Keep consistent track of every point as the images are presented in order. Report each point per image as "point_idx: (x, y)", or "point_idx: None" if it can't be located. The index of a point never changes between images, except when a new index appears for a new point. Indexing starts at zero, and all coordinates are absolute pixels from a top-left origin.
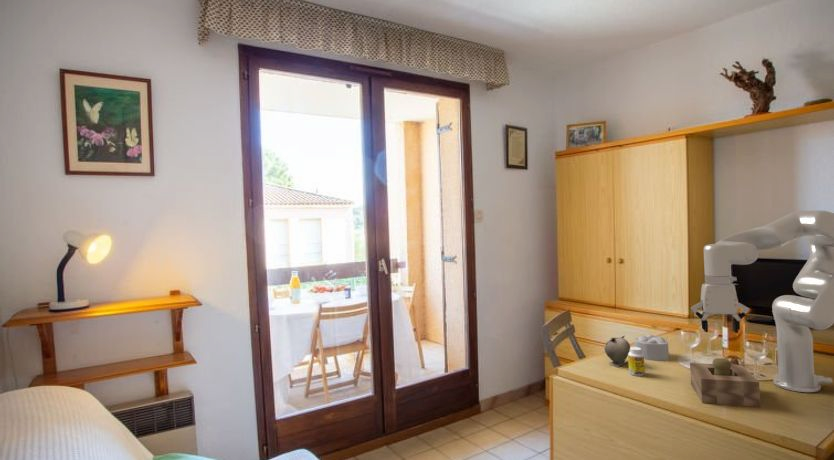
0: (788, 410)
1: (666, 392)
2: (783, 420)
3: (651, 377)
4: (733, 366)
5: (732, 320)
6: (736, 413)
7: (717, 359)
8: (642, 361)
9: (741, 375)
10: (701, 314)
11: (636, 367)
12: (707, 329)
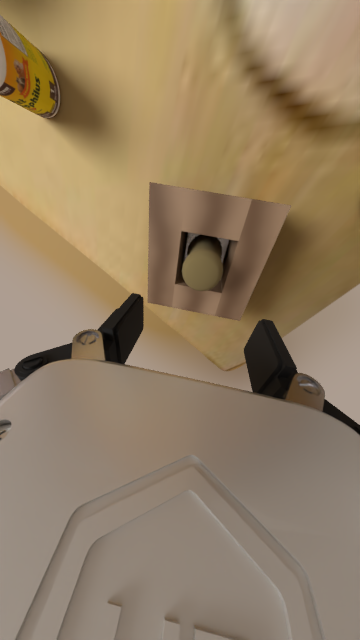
0: (265, 309)
1: (113, 241)
2: (234, 332)
3: (82, 126)
4: (256, 219)
5: (274, 362)
6: (190, 315)
7: (191, 275)
8: (21, 88)
9: (230, 288)
10: (73, 357)
11: (24, 107)
12: (137, 335)
